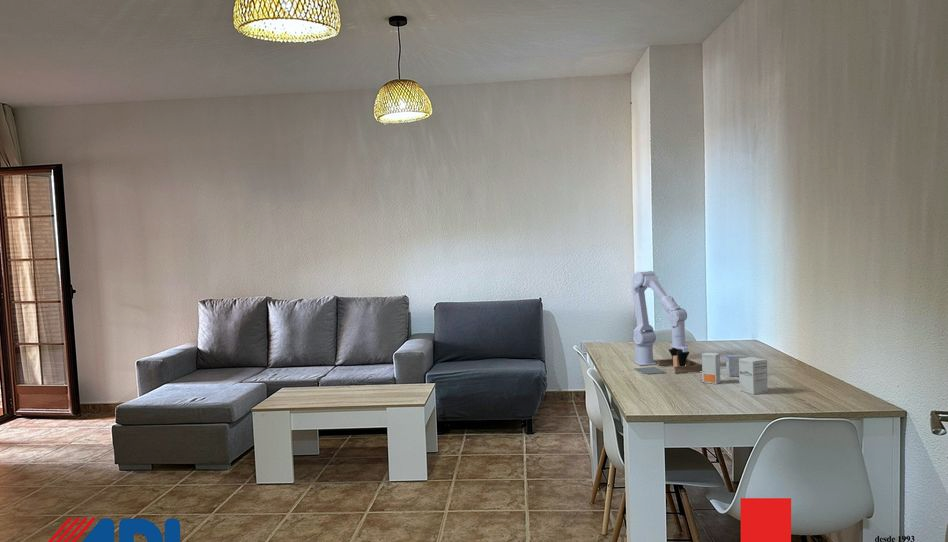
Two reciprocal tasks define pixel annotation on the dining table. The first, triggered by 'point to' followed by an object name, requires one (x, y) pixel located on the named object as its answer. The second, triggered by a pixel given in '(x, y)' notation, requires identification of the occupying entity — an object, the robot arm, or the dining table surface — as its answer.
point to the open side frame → (689, 367)
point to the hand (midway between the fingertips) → (679, 365)
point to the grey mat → (649, 370)
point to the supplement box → (753, 375)
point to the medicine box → (733, 364)
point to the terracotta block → (675, 361)
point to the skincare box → (711, 368)
